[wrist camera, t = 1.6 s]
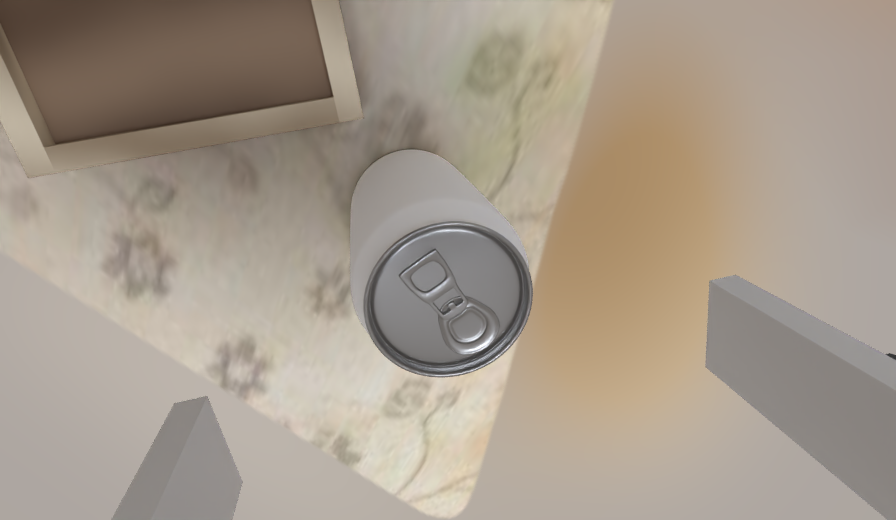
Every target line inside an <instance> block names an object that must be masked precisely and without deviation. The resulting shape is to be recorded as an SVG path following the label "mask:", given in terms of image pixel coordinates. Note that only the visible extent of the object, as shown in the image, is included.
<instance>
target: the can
mask: <svg viewBox="0 0 896 520" xmlns="http://www.w3.org/2000/svg"><path fill="white" fill-rule="evenodd" d="M350 286H351V295H352V300H353V304H354V308H355V311H356V314H357V316H358V318H359V320H360V322H361V324H362V326H363V327H364V329H365V330H366V331H367V333H368V334H369V335H370V337H371V339H372V340H373V342H374V344H375V345H376V346H377V348H378V349H379V350H380V351H381V353H382V354H383V355H384V356H385V357H386V358H388V359H389V360H390V361H391V362H393V363H394V364H396V365H397V366H399V367H401V368H403V369H405V370H407V371H409V372H412V373H415V374H419V375H423V376H429V377H453V376H459V375H463V374H467V373H470V372H473V371H476V370H478V369H481V368H483V367H485V366H486V365H488V364H490V363H492V362H493V361H495V360H496V359H497V358H499V357H500V356H501V355H503V354H504V353H505V352H506V351H507V350H508V349H509V348H510V347H511V346H512V345H513V343H514V342H515V341H516V340H517V338H518V337H519V335H520V334H521V332H522V330H523V329H524V327H525V325H526V322H527V320H528V317H529V314H530V310H531V305H532V297H533V288H532V280H531V276H530V272H529V265H528V259H527V255H526V252H525V249H524V246H523V244H522V242H521V240H520V238H519V236H518V234H517V233H516V231H515V230H514V228H513V227H512V226H511V224H510V223H509V222H508V221H507V220H506V218H505V217H504V216H503V215H502V214H501V213H500V212H499V211H498V210H497V209H496V208H495V207H494V206H493V205H492V204H491V203H490V202H489V201H488V200H487V199H486V197H485V196H484V195H483V194H482V193H481V192H480V191H479V190H478V189H477V188H476V187H475V186H474V185H473V184H472V183H471V182H470V181H469V180H468V179H467V178H466V177H465V176H464V175H463V174H461V173H460V172H459V171H458V170H457V169H456V168H455V167H454V166H453V165H452V164H451V163H449V162H448V161H447V160H445V159H444V158H442V157H440V156H438V155H436V154H433V153H431V152H427V151H423V150H401V151H396V152H393V153H390V154H388V155H385V156H383V157H382V158H380V159H378V160H377V161H375V162H374V163H373V164H372V165H371V166H370V167H368V169H367V170H366V171H365V172H364V173H363V175H362V176H361V177H360V179H359V181H358V183H357V185H356V187H355V190H354V193H353V197H352V202H351V218H350Z"/></svg>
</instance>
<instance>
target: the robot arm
mask: <svg viewBox="0 0 896 520" xmlns="http://www.w3.org/2000/svg"><path fill="white" fill-rule="evenodd" d="M706 368H707V369H709V370H710V371H711V372H712V373H713V374H715V375H716V376H717V377H718V378H720V379H721V380H722V381H723V382H724V383H726V384H727V385H728V386H729V387H730V388H731V389H732V390H734V391H735V392H736V393H737V394H738V395H740V396H741V397H742V398H743V399H744V400H746V401H747V402H748V403H749V404H750V405H751V406H753V407H754V408H755V409H756V410H758V411H759V412H760V413H761V414H762V415H763V416H765V417H766V418H767V419H768V420H769V421H771V422H772V423H773V424H774V425H775V426H776V427H778V428H779V429H780V430H781V431H782V432H784V433H785V434H786V435H787V436H788V437H790V438H791V439H792V440H793V441H794V442H795V443H797V444H798V445H799V446H800V447H801V448H803V449H804V450H805V451H806V452H807V453H809V454H810V455H811V456H812V457H813V458H815V459H816V460H817V461H818V462H819V463H821V464H822V465H823V466H824V467H825V468H826V469H828V470H829V471H830V472H831V473H832V474H834V475H835V476H836V477H837V478H838V479H840V480H841V481H842V482H843V483H844V484H845V485H847V486H848V487H849V488H850V489H851V490H853V491H854V492H855V493H856V494H857V495H859V496H860V497H861V498H862V499H863V500H865V501H866V502H867V503H868V504H870V506H872V507H873V508H874V509H875V510H876V511H878V512H879V513H880V514H881V515H882V516H884V517H885V518H886V519H887V520H896V355H893V354H890V353H889V354H883V353H882V352H880V351H878V350H876V349H874V348H872V347H870V346H868V345H866V344H865V343H863V342H861V341H859V340H857V339H855V338H853V337H851V336H850V335H848V334H846V333H844V332H842V331H840V330H838V329H836V328H835V327H833V326H831V325H829V324H827V323H825V322H823V321H821V320H819V319H818V318H816V317H814V316H812V315H810V314H808V313H806V312H805V311H803V310H801V309H799V308H797V307H795V306H793V305H791V304H789V303H788V302H786V301H784V300H782V299H780V298H778V297H776V296H774V295H773V294H771V293H769V292H767V291H765V290H763V289H761V288H759V287H757V286H756V285H754V284H752V283H750V282H748V281H746V280H744V279H743V278H740V277H739V276H737V275H733V276H728V277H724V278H720V279H715V280H711V281H710V282H709V302H708V323H707V346H706ZM241 486H242V480H241V477H240V475H239V472H238V470H237V467H236V465H235V463H234V460H233V457H232V455H231V453H230V450H229V448H228V445H227V443H226V440H225V438H224V436H223V433H222V431H221V428H220V426H219V423H218V421H217V418H216V416H215V414H214V411H213V409H212V406H211V404H210V401H209V399H208V397H207V396H205V397H201V398H197V399H192V400H187V401H183V402H179V403H174V405H173V407H172V409H171V411H170V413H169V414H168V416H167V418H166V420H165V422H164V424H163V425H162V427H161V429H160V431H159V433H158V435H157V437H156V438H155V440H154V442H153V444H152V446H151V448H150V449H149V451H148V453H147V455H146V457H145V459H144V461H143V462H142V464H141V466H140V468H139V470H138V472H137V473H136V475H135V477H134V479H133V481H132V483H131V485H130V487H129V488H128V490H127V492H126V494H125V496H124V497H123V499H122V501H121V503H120V505H119V507H118V508H117V510H116V512H115V514H114V516H113V518H112V520H232V519H233V515H234V512H235V508H236V504H237V501H238V497H239V493H240V490H241Z"/></svg>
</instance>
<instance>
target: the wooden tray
mask: <svg viewBox="0 0 896 520" xmlns="http://www.w3.org/2000/svg"><path fill="white" fill-rule="evenodd" d="M358 119H364V117H363V112H362V107H361V103H360V98H359V93H358V89H357V84H356V79H355V74H354V70H353V65H352V60H351V56H350V51H349V46H348V41H347V37H346V32H345V27H344V23H343V18H342V13H341V8H340V4H339V0H0V121H1V123H2V125H3V128H4V130H5V132H6V134H7V136H8V138H9V140H10V142H11V144H12V146H13V148H14V150H15V152H16V154H17V156H18V158H19V160H20V162H21V164H22V166H23V168H24V171H25V173H26V175H27V177H28V178H32V177H38V176H43V175H49V174H55V173H60V172H66V171H71V170H77V169H83V168H88V167H94V166H100V165H105V164H111V163H116V162H122V161H128V160H133V159H139V158H144V157H150V156H156V155H161V154H167V153H173V152H178V151H184V150H189V149H195V148H201V147H206V146H212V145H218V144H223V143H229V142H234V141H240V140H246V139H251V138H257V137H262V136H268V135H274V134H279V133H285V132H291V131H296V130H302V129H307V128H313V127H319V126H324V125H330V124H335V123H341V122H347V121H352V120H358Z"/></svg>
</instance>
